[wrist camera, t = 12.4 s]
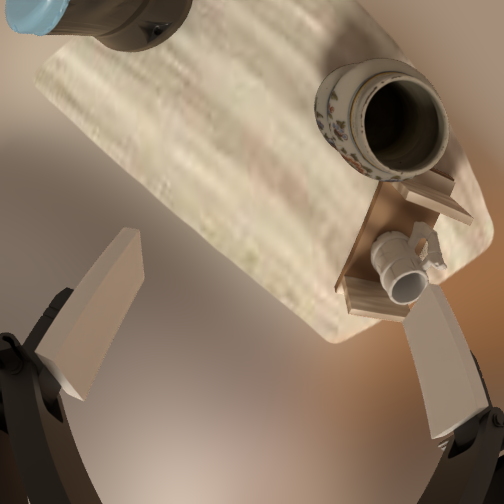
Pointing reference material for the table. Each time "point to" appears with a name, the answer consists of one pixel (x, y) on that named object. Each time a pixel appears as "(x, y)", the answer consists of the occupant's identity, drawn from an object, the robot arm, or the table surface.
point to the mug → (405, 262)
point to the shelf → (395, 219)
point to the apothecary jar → (383, 119)
